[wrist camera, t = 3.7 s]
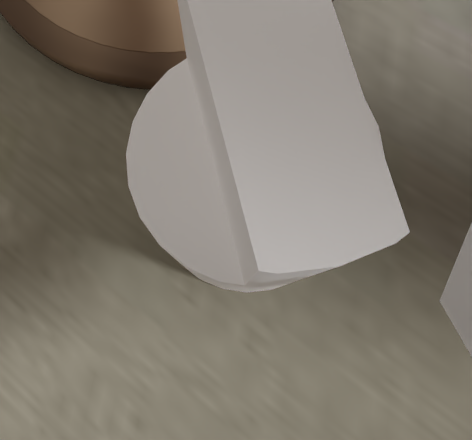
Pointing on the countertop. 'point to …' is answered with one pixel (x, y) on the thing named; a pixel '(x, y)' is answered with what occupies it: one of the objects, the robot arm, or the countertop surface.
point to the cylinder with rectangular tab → (262, 148)
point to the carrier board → (103, 36)
